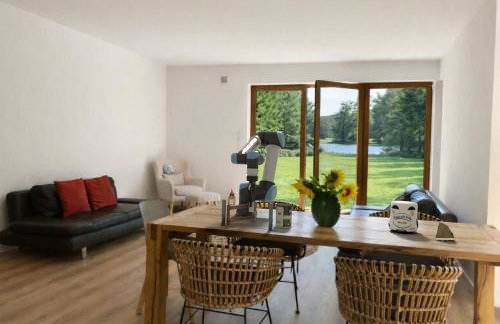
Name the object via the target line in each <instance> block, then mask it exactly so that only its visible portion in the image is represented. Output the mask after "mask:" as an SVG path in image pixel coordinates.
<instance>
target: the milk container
mask: <svg viewBox="0 0 500 324" xmlns="http://www.w3.org/2000/svg"><path fill="white" fill-rule="evenodd" d="M418 208H419V207H418V203H417V202H414V201H413V202H412V201H407V200H406V201H405V200H392V201H391V203H390V213H389V215H390V216H389V219H388V222H387V223H388V228H389V229H390V231H393V232H396V231H398V232H397V233H401V232H413V233H416V232H417V231H418V230H419V221H418Z"/></svg>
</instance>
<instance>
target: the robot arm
mask: <svg viewBox="0 0 500 324" xmlns="http://www.w3.org/2000/svg"><path fill="white" fill-rule="evenodd" d="M285 139H286V137H285V134H284V132H282V131H280V130H279V131H278V130H273V131H271V130H270V131H269V130H261V131H258V132H257V133H255V134H253V135H251V136H250V138H249V139H248V142H246V143H245V144H244V146H243V147H241V149H240V150H239V151H238V152H232V153H231V154H230V155H231V156H230V161H231V163H232V165H233V164H234V165H246V177H245V178H246V182H242V183H241V182H240V184H239V188H238V204H237V205H243V204H249V207H248V208H241V209H235V210H236V211H235V215H237V216H239V217H240V216H241V217H247V216H252V212H254V202H267V203H272V202H274V201H275V199H276V197H277V193H278V186H277V185H276V183H275V175H276V171H277V164H278V159H279V158H278V157H279V152H281V151H282V148H284V147H285V145H286V140H285ZM260 147H265V149H266V156H264V154H262V153H259V151H257V149H258V148H260ZM263 164H264V165H263ZM262 165H263V171H262V177H261V179H260V180H259V172H260V169H259V166H262ZM256 182H258V184H257V183H256ZM256 216H258V210H257V209H256Z"/></svg>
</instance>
